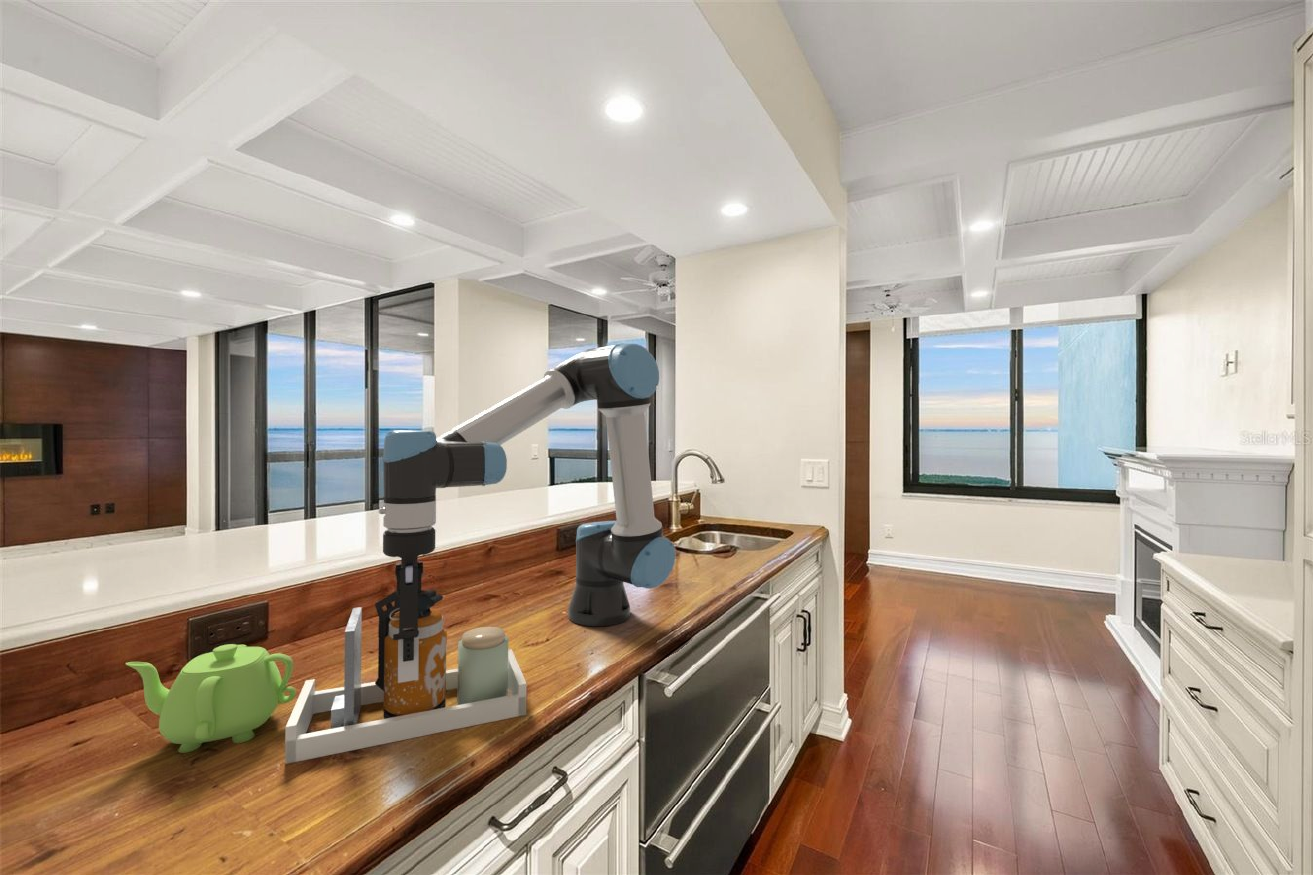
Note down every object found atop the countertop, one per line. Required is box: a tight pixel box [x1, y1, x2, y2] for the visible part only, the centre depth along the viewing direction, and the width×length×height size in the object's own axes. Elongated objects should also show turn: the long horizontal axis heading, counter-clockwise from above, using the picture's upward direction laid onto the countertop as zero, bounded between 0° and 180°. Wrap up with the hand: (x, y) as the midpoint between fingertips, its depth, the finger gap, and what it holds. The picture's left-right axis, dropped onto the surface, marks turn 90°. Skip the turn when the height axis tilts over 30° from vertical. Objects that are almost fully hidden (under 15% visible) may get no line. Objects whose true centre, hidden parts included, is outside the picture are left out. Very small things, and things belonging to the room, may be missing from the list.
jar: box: [456, 626, 509, 705], centre depth 88 cm, size 8×8×11 cm
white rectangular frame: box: [284, 648, 527, 765], centre depth 84 cm, size 32×14×5 cm, turn 114°
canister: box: [374, 589, 448, 719], centre depth 84 cm, size 9×11×20 cm
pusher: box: [330, 606, 363, 729], centre depth 80 cm, size 3×11×16 cm, turn 25°
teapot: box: [125, 643, 297, 754], centre depth 78 cm, size 16×14×13 cm
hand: (408, 661), depth 84 cm, fingers open, 13 cm apart
